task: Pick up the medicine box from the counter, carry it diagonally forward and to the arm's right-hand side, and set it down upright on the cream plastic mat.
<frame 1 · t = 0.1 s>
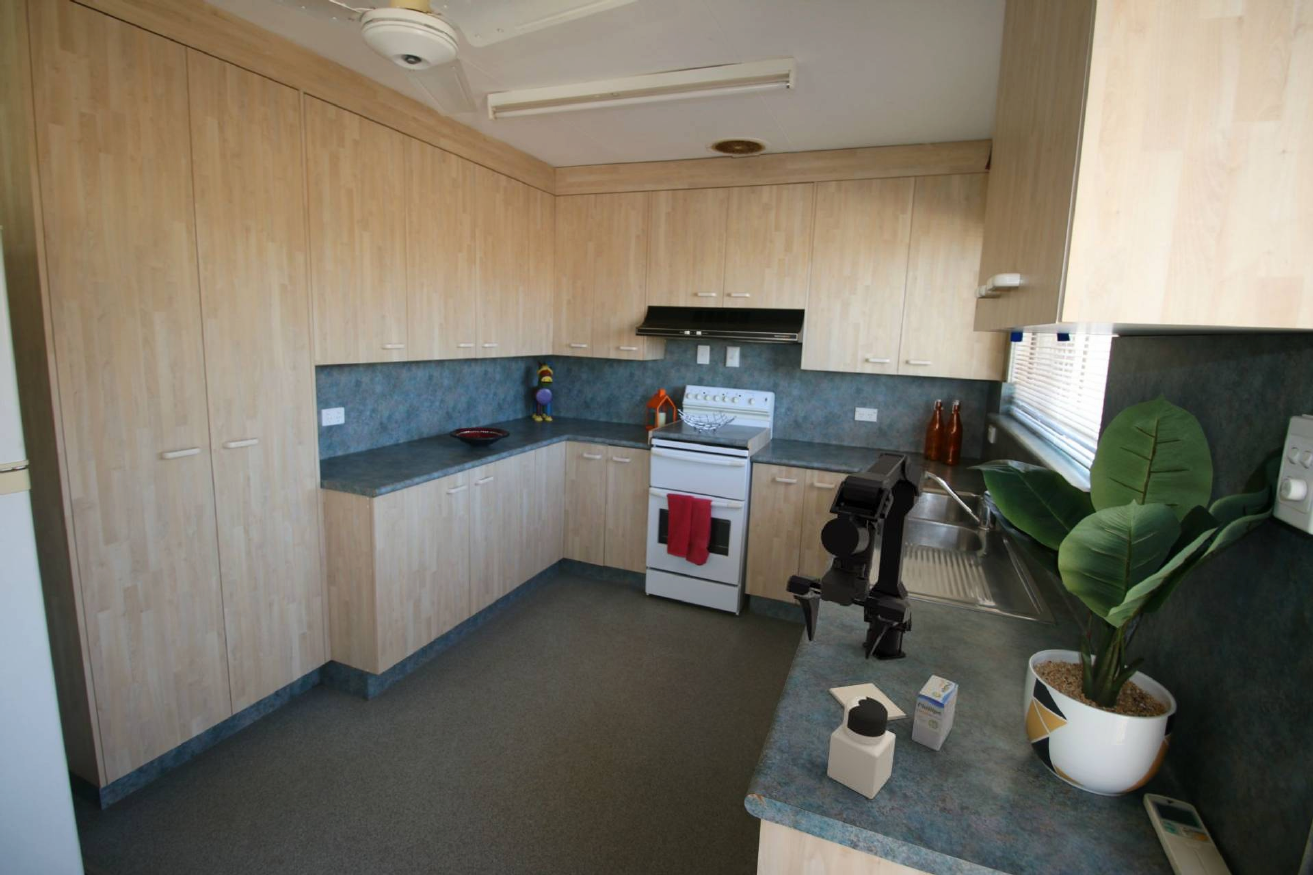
hand: (838, 649, 102), 15 cm above the worktop, tool pointing down, fingers open, 9 cm apart
medicine box: (931, 736, 106), on the worktop
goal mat: (866, 704, 114), on the worktop
medicine bottle: (858, 777, 95), on the worktop
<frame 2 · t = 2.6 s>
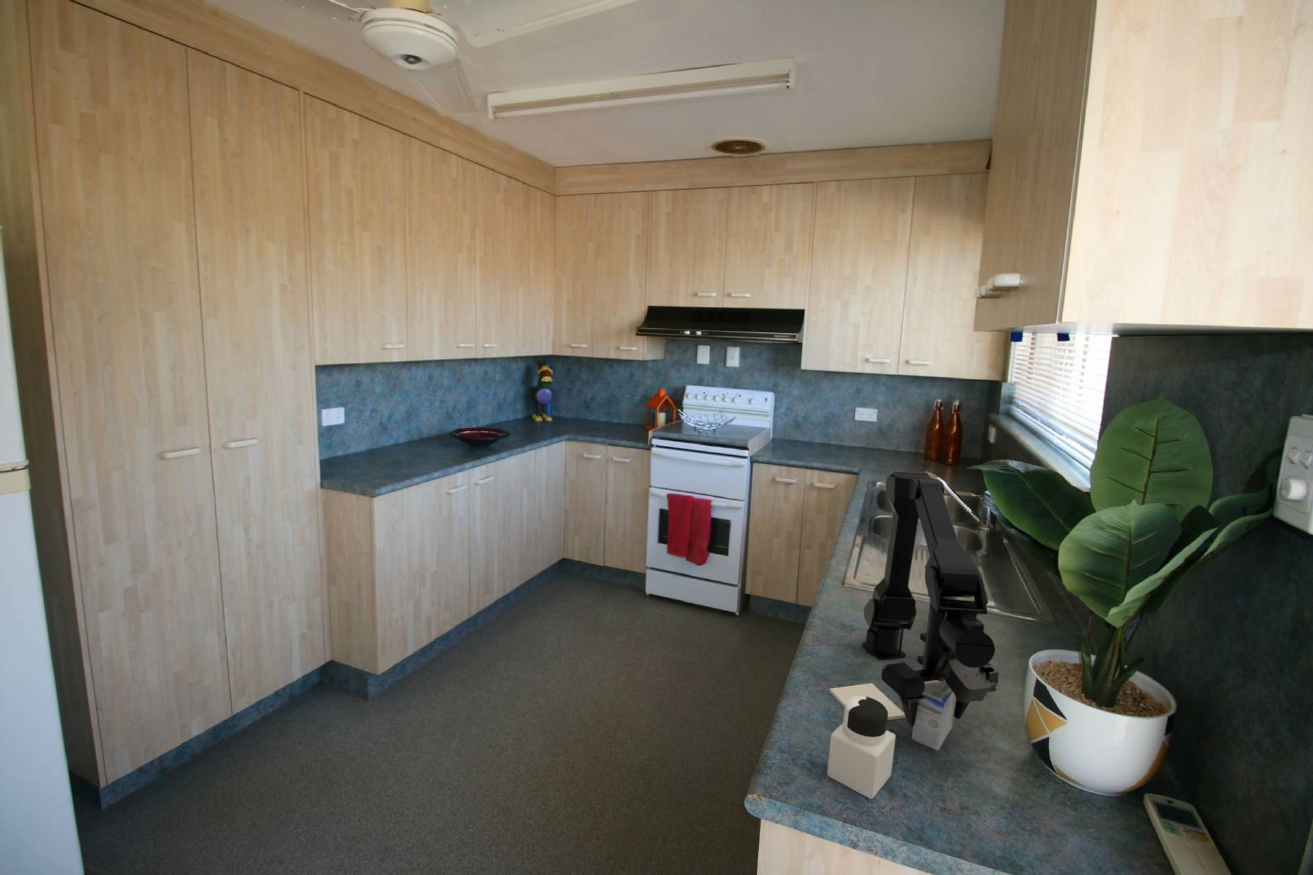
hand: (933, 721, 106), 3 cm above the worktop, tool pointing down, fingers closed on medicine box, 9 cm apart
medicine box: (931, 735, 106), on the worktop, touching gripper
everything else where it was.
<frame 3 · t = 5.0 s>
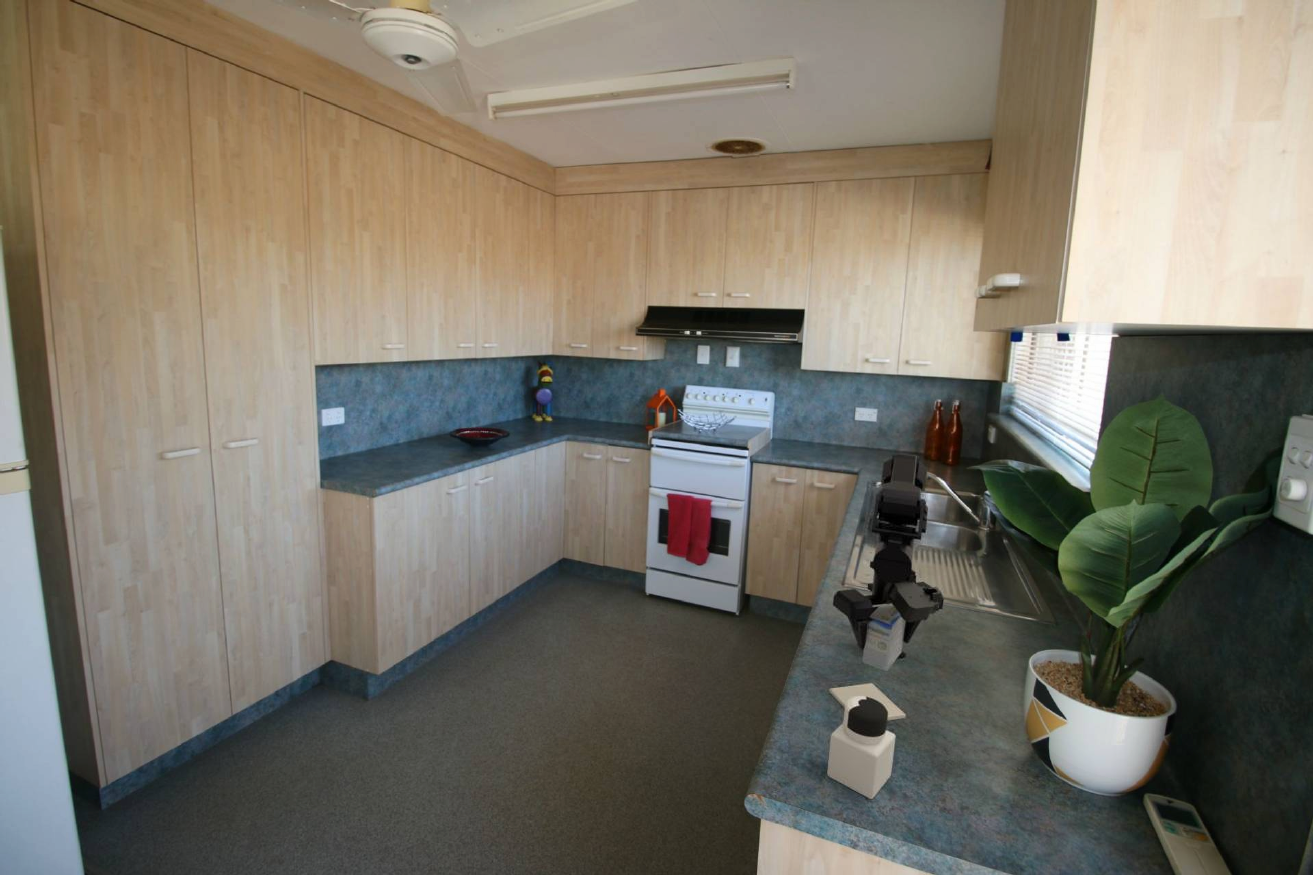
hand: (883, 645, 111), 12 cm above the worktop, tool pointing down, fingers closed on medicine box, 9 cm apart
medicine box: (882, 659, 111), point 9 cm above the worktop, touching gripper
everything else where it was.
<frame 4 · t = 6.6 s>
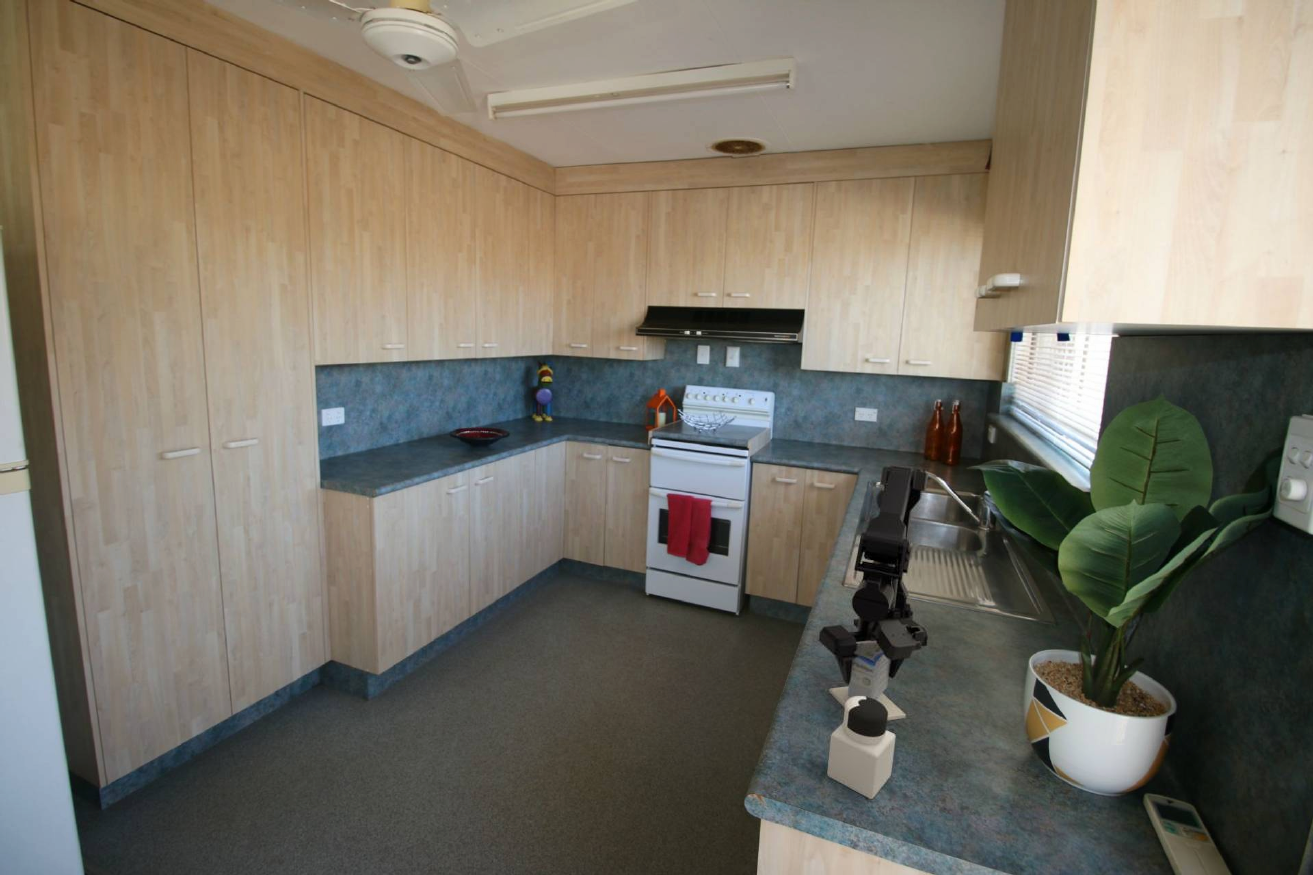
hand: (868, 680, 113), 5 cm above the worktop, tool pointing down, fingers closed on medicine box, 9 cm apart
medicine box: (867, 694, 114), point 2 cm above the worktop, touching gripper
everything else where it was.
when the fingers open (5 cm above the worktop, at t = 7.7 s): medicine box drops 1 cm, resting on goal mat.
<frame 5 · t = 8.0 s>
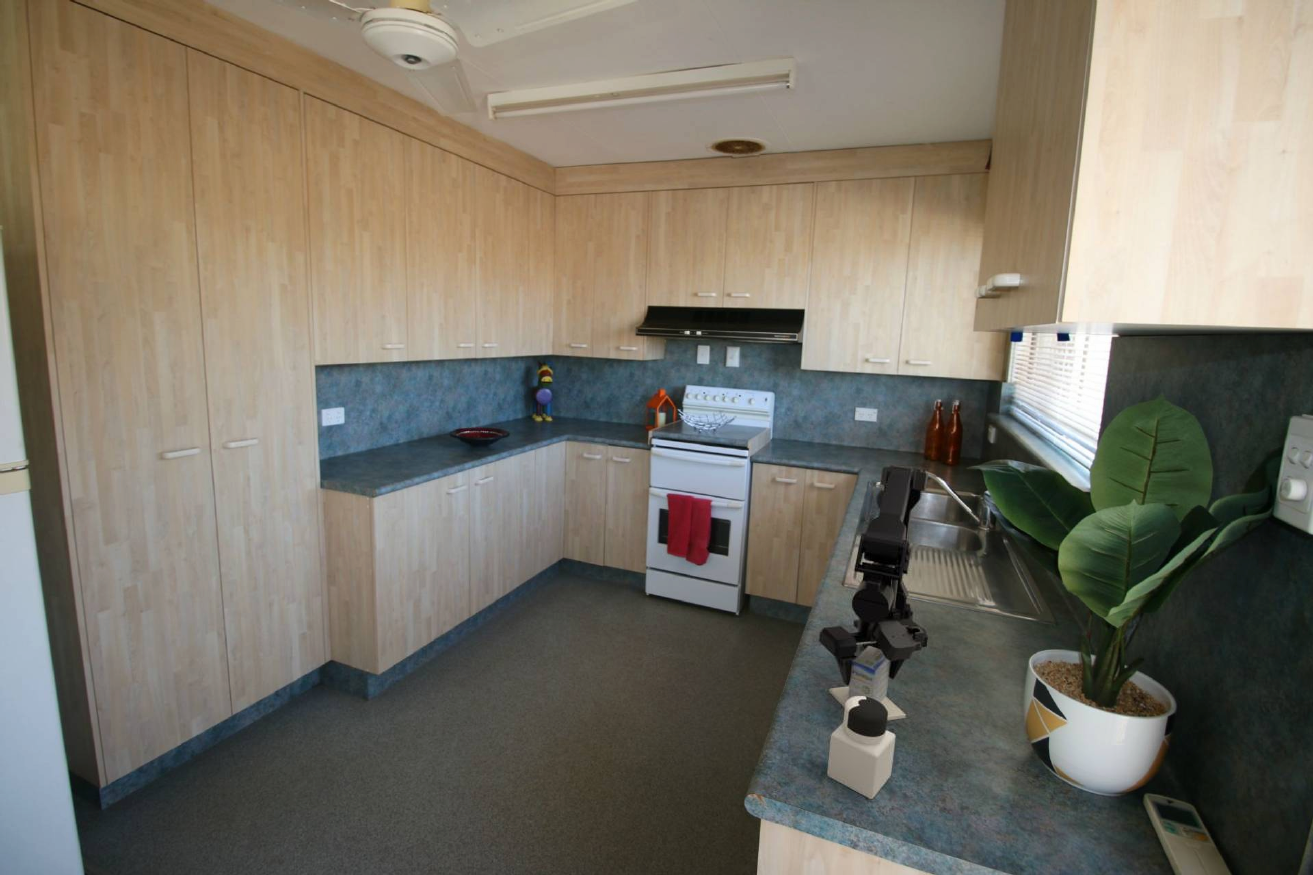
hand: (869, 681, 113), 5 cm above the worktop, tool pointing down, fingers open, 9 cm apart
medicine box: (866, 702, 114), resting on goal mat, touching gripper
everything else where it was.
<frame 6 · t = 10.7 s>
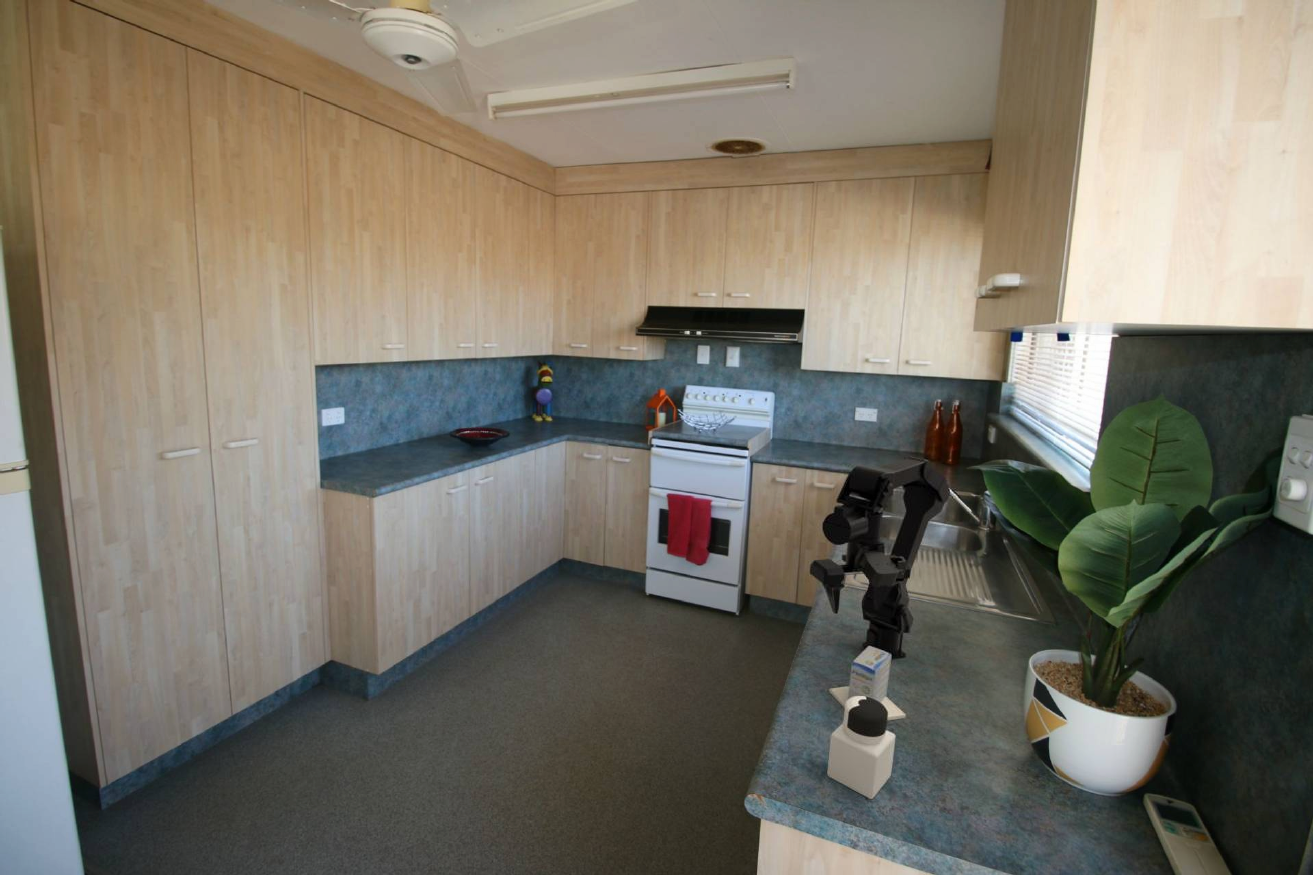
hand: (856, 611, 122), 13 cm above the worktop, tool pointing down, fingers open, 9 cm apart
medicine box: (866, 702, 114), resting on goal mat
everything else where it was.
at the end: medicine box inside the target area on the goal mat (0.1 cm from its centre), point 0.4 cm above the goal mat's base; medicine box tilted 0°; the gripper is holding nothing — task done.
